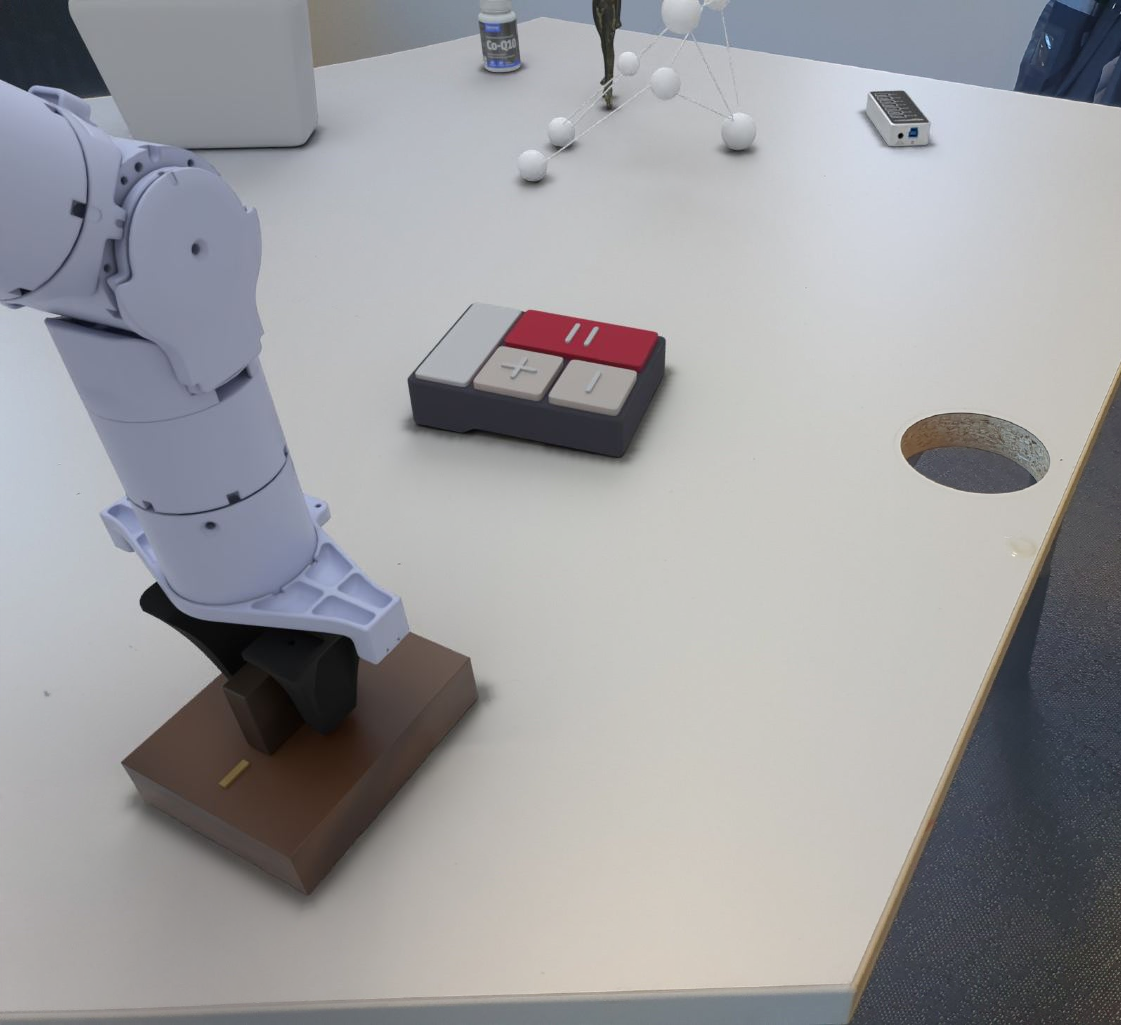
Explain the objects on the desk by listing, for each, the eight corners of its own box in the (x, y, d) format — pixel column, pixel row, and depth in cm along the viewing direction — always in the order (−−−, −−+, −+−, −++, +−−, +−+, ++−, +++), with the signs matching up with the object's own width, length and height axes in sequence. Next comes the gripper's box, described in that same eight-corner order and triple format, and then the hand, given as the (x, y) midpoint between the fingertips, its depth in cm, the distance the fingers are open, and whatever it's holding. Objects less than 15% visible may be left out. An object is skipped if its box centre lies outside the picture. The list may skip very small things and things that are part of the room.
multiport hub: (902, 110, 115) (905, 89, 114) (928, 145, 107) (932, 123, 106) (864, 111, 115) (867, 91, 114) (888, 146, 107) (891, 124, 105)
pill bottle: (488, 75, 126) (478, 2, 120) (481, 64, 129) (472, -7, 124) (524, 71, 127) (517, -1, 122) (517, 60, 130) (509, -10, 125)
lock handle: (270, 756, 44) (242, 694, 41) (247, 744, 44) (217, 682, 41) (356, 670, 47) (335, 609, 45) (333, 660, 48) (312, 598, 45)
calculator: (622, 413, 63) (402, 370, 65) (621, 466, 65) (411, 423, 68) (668, 327, 71) (471, 292, 73) (665, 377, 73) (476, 342, 76)
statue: (580, 112, 115) (566, -86, 102) (591, 94, 120) (579, -97, 107) (620, 114, 115) (611, -85, 102) (629, 96, 120) (622, -97, 107)
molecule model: (765, 188, 103) (776, 20, 88) (523, 209, 102) (493, 42, 87) (745, 106, 111) (752, -60, 96) (520, 125, 109) (492, -41, 95)
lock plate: (308, 895, 42) (288, 855, 40) (144, 800, 46) (118, 759, 44) (479, 696, 50) (470, 655, 48) (328, 629, 54) (313, 587, 52)
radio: (341, 122, 113) (283, -139, 97) (325, 149, 107) (260, -125, 91) (145, 126, 112) (53, -136, 96) (117, 153, 106) (14, -122, 90)
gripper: (432, 462, 37) (482, 696, 46) (159, 365, 42) (251, 593, 51) (294, 580, 32) (379, 816, 41) (5, 455, 37) (136, 689, 46)
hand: (301, 700), depth 46 cm, fingers open, 4 cm apart
